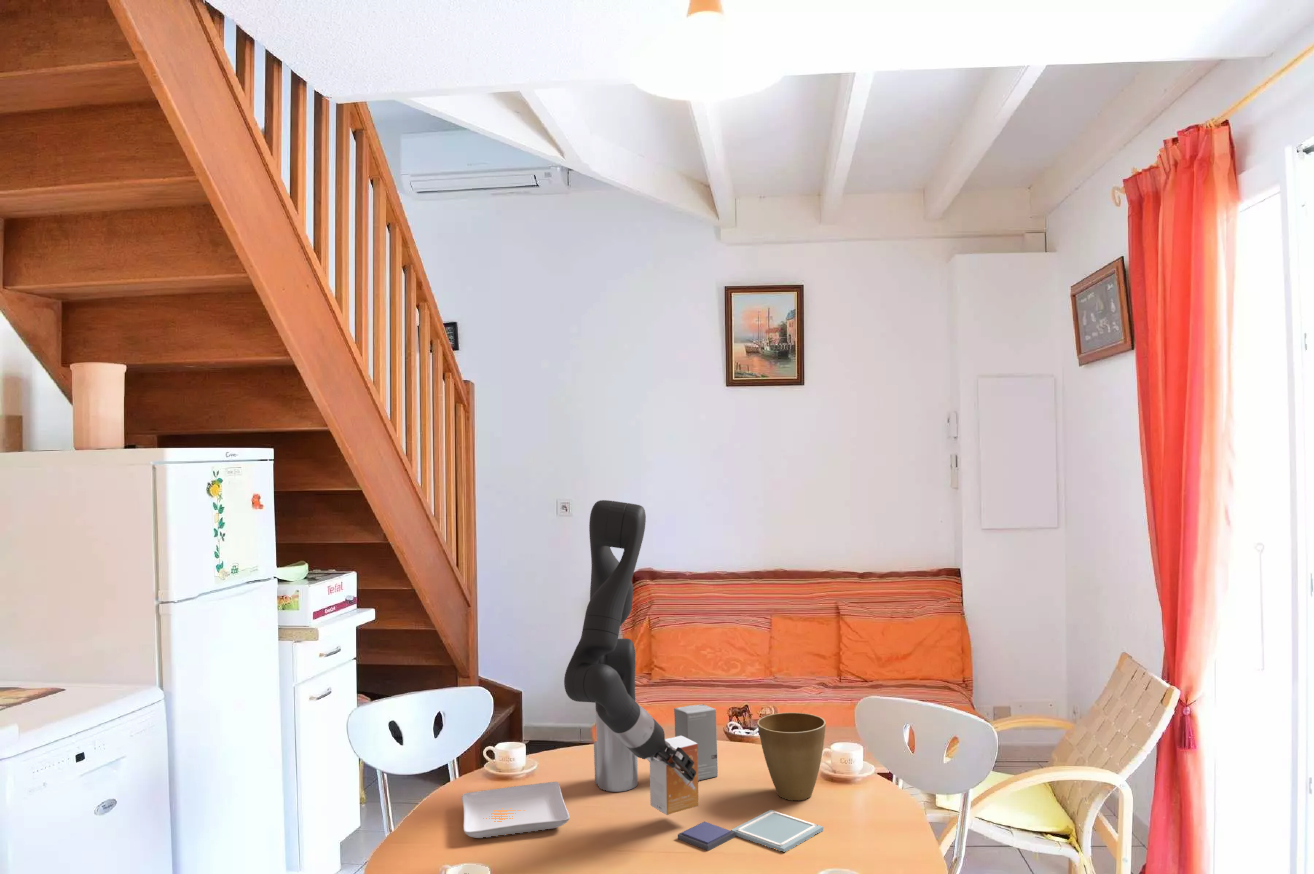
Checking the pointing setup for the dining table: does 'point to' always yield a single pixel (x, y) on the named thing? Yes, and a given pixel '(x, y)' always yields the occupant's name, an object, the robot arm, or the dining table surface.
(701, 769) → the skincare box
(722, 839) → the ink pad
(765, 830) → the board
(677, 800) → the small box
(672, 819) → the dining table surface
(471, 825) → the salad plate
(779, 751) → the plant pot
